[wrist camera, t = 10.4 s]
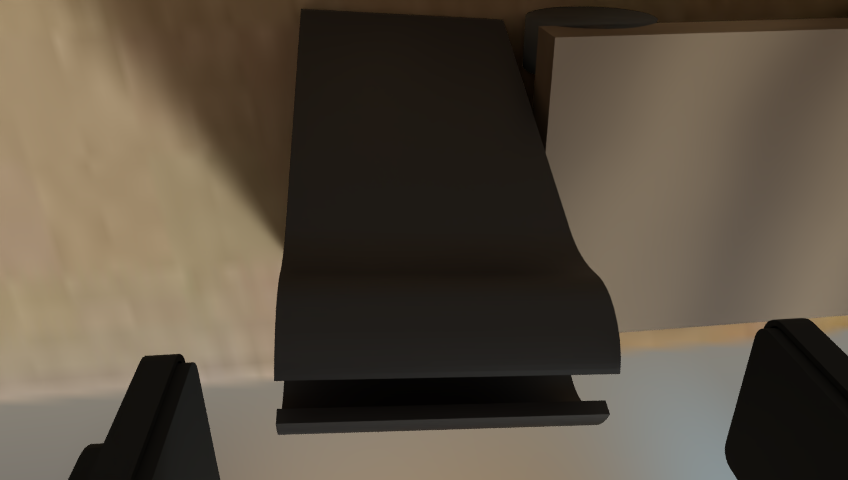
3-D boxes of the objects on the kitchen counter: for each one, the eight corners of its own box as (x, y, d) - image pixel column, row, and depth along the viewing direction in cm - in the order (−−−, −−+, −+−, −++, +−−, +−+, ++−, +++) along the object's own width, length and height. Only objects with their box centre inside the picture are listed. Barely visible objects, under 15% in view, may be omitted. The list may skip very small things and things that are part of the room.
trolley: (938, -3, 22) (1070, 22, 18) (856, 243, 26) (948, 307, 22) (512, 8, 20) (555, 37, 16) (498, 266, 25) (529, 339, 21)
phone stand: (301, 5, 20) (264, 144, 9) (501, 17, 21) (678, 157, 10) (303, 272, 24) (279, 579, 13) (470, 273, 25) (571, 563, 14)
